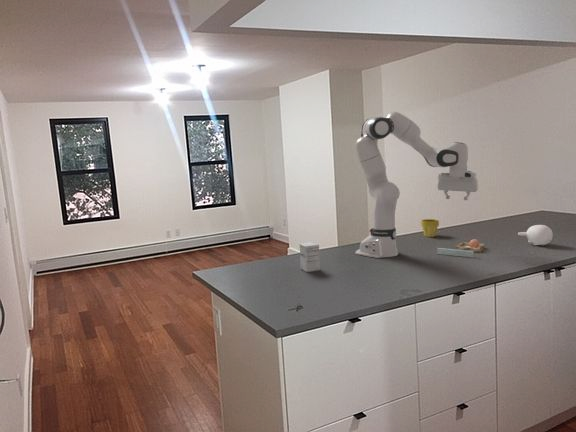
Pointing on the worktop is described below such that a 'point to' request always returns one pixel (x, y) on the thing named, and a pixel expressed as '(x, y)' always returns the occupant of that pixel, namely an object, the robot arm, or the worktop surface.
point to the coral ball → (474, 243)
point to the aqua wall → (455, 252)
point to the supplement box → (309, 256)
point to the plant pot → (429, 227)
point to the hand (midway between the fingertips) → (456, 199)
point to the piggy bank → (538, 234)
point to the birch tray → (467, 247)
